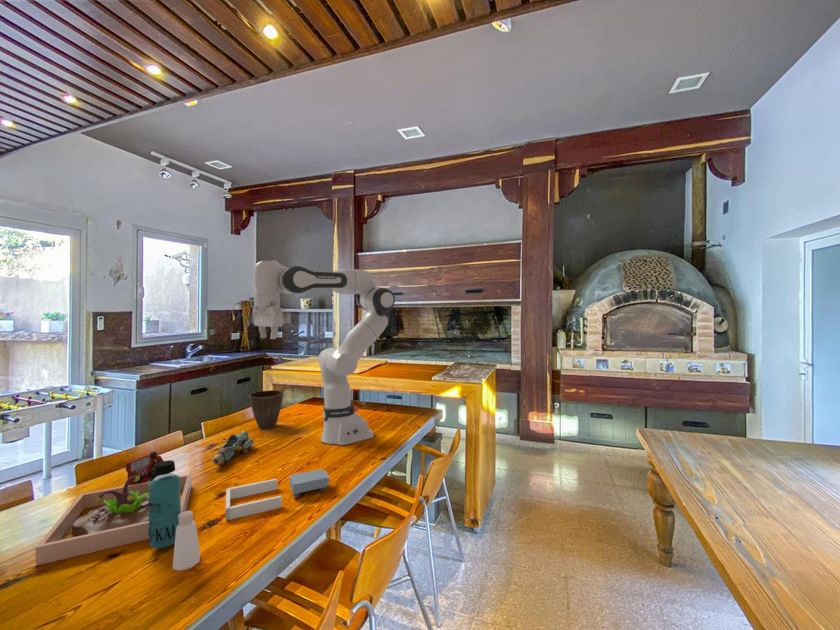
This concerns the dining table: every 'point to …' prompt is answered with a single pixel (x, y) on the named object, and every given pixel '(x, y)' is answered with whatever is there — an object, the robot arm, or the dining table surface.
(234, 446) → the hoverbike
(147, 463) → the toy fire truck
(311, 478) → the short grey brick
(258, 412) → the plant pot
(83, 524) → the plant
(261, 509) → the bay
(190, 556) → the pepper shaker
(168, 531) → the beverage bottle
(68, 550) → the planter tray
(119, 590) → the dining table surface
